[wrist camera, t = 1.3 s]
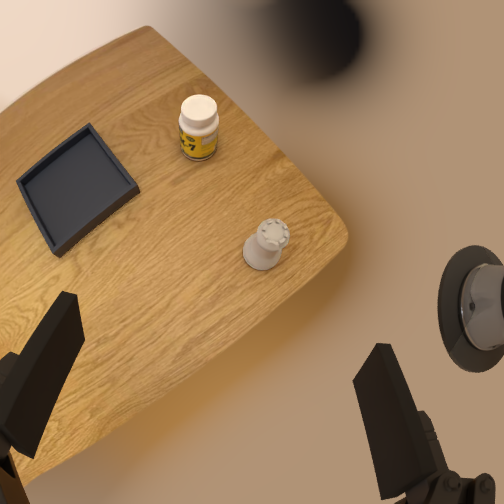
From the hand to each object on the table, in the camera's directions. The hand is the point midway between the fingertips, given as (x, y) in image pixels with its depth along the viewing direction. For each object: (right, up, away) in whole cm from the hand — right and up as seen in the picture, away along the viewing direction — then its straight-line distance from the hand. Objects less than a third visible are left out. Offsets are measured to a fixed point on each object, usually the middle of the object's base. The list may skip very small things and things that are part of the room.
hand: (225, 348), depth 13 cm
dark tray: (-22, +12, +23) cm, 34 cm away
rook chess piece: (+2, +4, +25) cm, 25 cm away
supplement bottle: (-6, +18, +27) cm, 33 cm away
